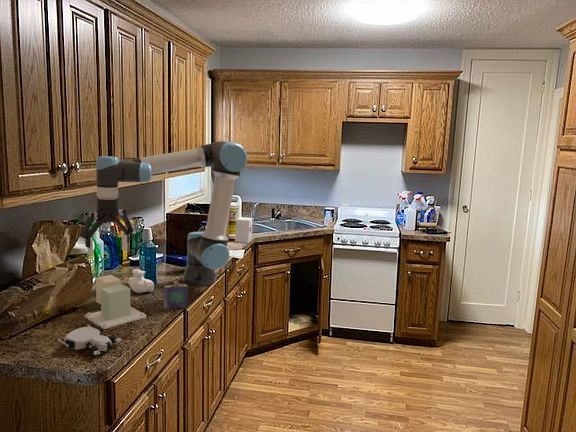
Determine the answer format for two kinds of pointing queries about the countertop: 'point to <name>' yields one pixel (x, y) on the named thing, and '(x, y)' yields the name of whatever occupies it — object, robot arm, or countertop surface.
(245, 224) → the supplement box
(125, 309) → the sage brick
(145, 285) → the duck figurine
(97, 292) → the cream brick
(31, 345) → the countertop surface
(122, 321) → the baseplate
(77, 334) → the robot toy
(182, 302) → the flask
